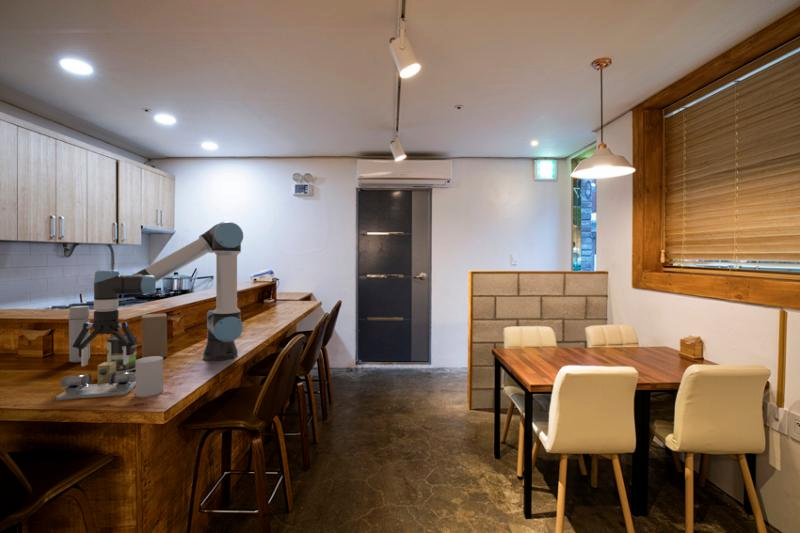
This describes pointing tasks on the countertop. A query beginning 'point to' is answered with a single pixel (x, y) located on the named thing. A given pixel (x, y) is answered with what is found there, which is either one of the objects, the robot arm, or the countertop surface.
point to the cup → (149, 376)
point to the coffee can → (121, 354)
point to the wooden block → (154, 335)
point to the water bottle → (77, 330)
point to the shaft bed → (97, 386)
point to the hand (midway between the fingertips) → (105, 364)
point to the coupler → (105, 371)
